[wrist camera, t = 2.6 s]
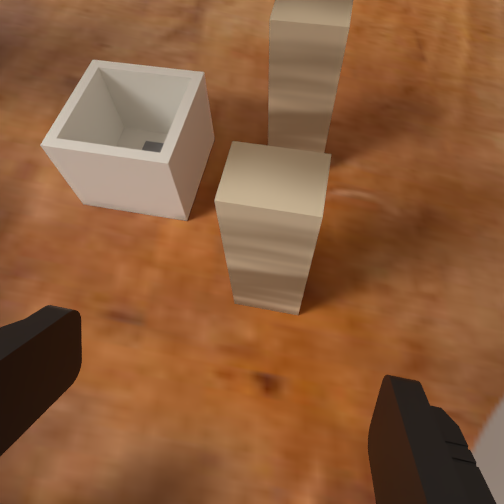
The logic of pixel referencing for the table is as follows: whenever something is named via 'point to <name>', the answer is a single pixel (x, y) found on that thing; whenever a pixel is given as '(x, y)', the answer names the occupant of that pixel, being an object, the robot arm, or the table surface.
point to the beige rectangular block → (305, 70)
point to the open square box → (134, 138)
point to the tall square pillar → (271, 221)
